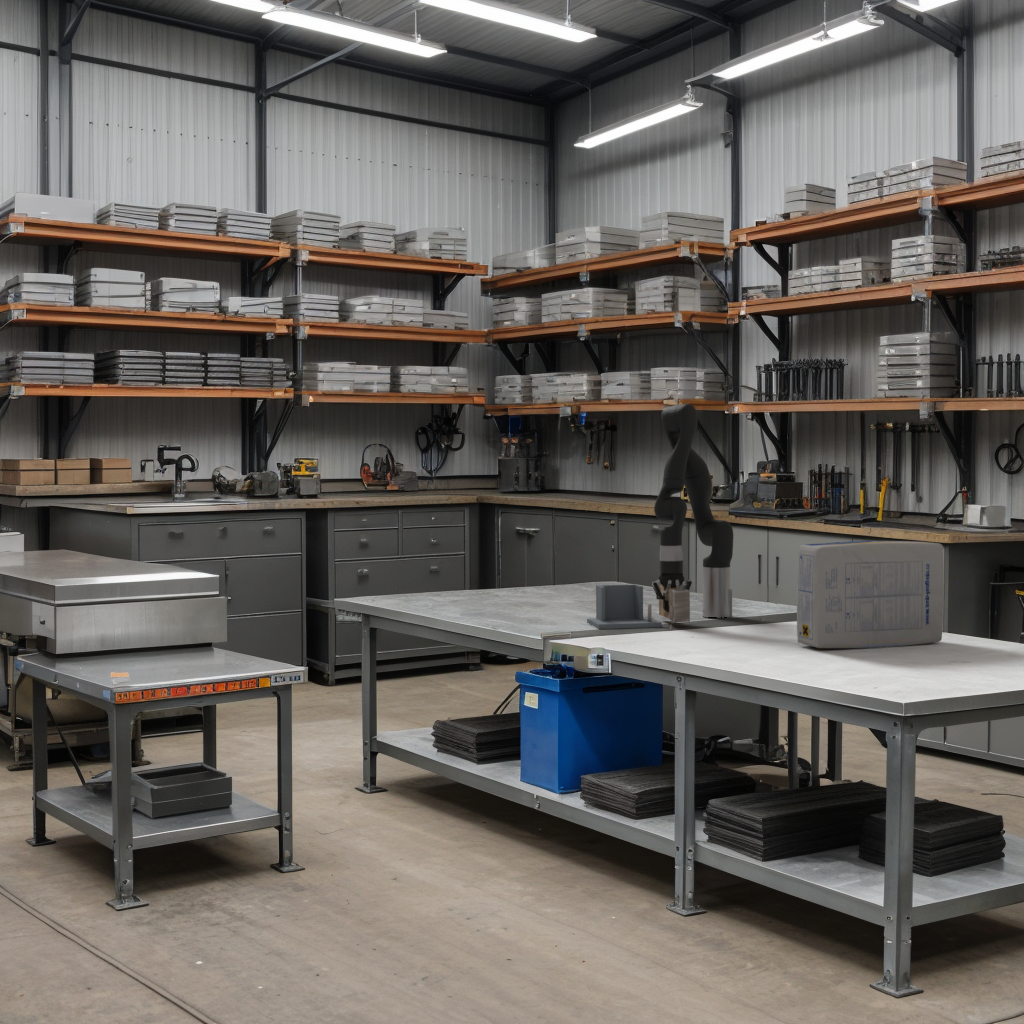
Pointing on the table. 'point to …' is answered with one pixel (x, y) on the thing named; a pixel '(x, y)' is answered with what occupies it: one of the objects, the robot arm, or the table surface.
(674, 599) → the door
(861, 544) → the construction material bag
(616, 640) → the table surface
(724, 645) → the table surface
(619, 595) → the grey corner bracket
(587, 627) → the table surface
